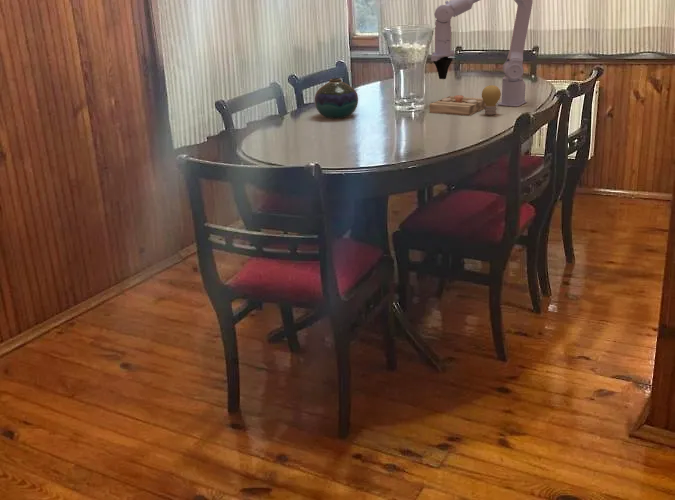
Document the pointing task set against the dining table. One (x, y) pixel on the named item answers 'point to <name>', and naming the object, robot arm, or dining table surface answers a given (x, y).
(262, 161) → the dining table surface
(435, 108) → the socket board
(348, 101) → the vase
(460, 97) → the plug mid
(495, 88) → the light bulb
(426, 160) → the dining table surface
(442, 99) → the plug far
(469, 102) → the plug near
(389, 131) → the dining table surface
